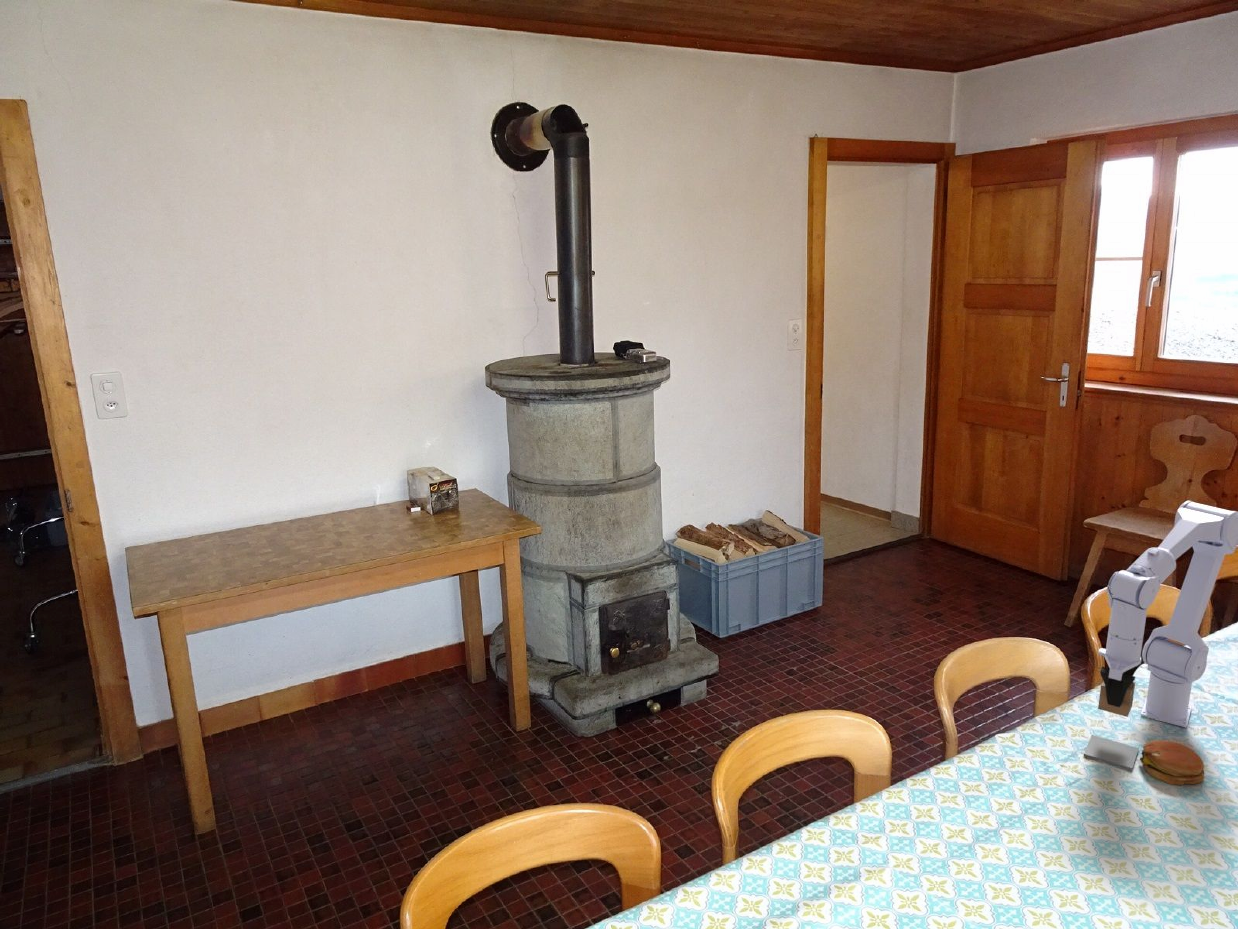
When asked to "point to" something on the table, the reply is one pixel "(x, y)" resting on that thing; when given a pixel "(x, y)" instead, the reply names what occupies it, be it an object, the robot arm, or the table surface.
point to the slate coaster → (1111, 752)
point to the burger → (1172, 762)
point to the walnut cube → (1125, 705)
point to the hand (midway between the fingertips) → (1116, 699)
